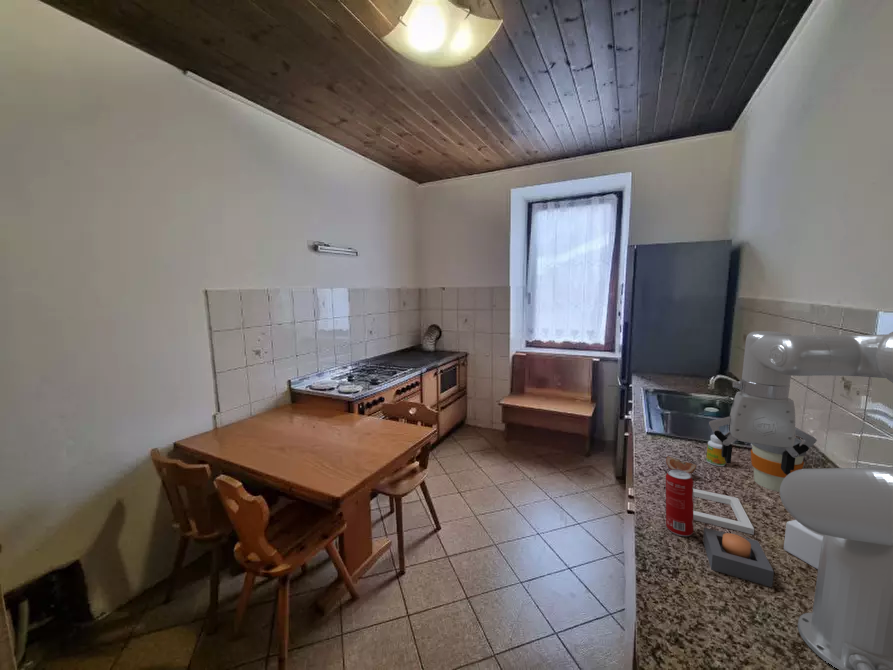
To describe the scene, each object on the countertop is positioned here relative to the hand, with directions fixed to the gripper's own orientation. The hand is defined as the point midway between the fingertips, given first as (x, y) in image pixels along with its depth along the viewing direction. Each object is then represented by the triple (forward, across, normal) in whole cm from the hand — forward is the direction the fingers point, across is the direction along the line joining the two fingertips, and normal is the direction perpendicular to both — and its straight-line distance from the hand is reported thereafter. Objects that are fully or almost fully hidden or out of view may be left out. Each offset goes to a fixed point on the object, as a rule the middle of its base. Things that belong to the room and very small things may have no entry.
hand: (755, 466), depth 76 cm
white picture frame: (+22, -4, +18) cm, 29 cm away
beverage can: (+22, -12, +4) cm, 26 cm away
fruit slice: (+23, -10, +37) cm, 45 cm away
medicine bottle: (+22, +13, +8) cm, 27 cm away
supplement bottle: (+23, +1, +53) cm, 58 cm away
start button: (+19, -2, -2) cm, 20 cm away
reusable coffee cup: (+23, +15, +44) cm, 52 cm away
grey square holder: (+22, -2, -2) cm, 22 cm away
